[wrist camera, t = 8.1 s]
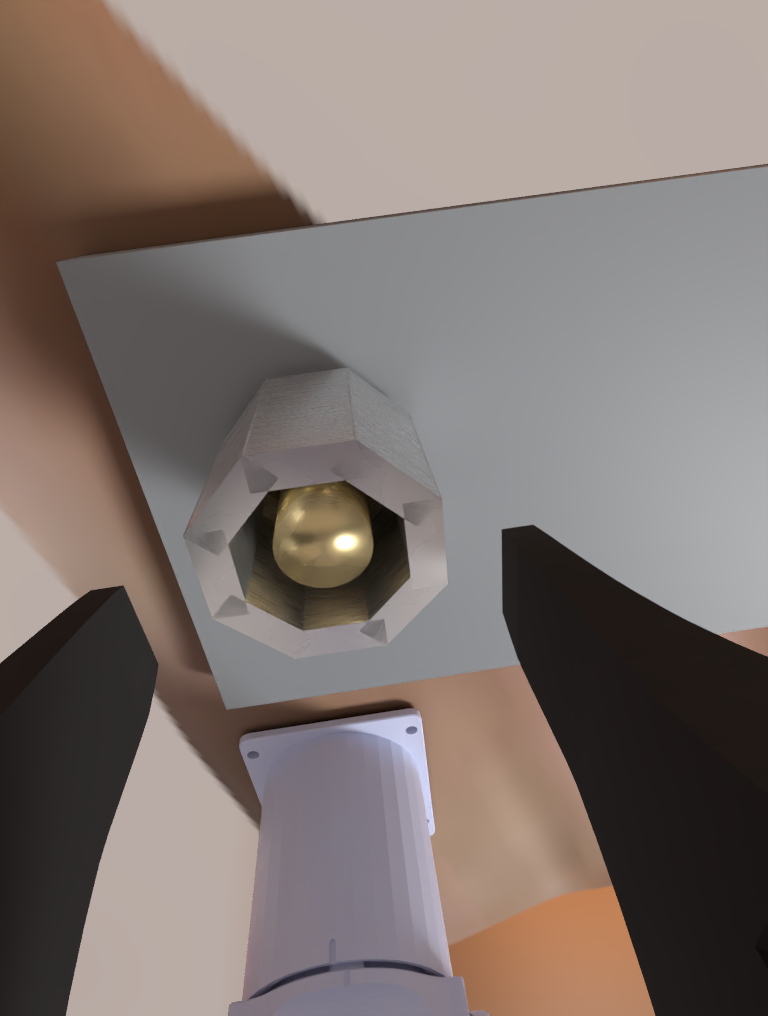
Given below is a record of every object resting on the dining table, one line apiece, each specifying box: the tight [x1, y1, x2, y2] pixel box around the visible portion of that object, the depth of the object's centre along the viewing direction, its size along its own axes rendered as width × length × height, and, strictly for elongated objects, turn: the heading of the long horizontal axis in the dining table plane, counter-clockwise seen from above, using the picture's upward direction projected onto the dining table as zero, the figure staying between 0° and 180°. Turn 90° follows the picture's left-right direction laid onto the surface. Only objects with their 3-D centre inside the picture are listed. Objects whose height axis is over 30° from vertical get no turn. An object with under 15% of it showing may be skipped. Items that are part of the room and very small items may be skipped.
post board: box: [56, 164, 768, 710], centre depth 16 cm, size 16×23×6 cm
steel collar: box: [183, 367, 448, 659], centre depth 14 cm, size 5×5×5 cm
